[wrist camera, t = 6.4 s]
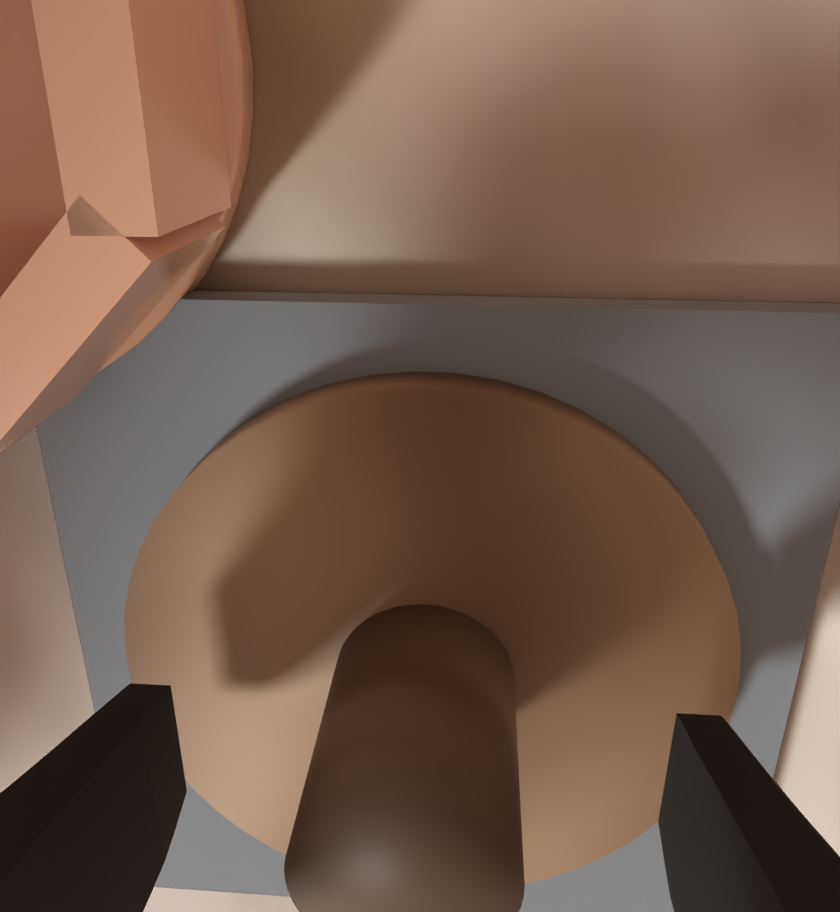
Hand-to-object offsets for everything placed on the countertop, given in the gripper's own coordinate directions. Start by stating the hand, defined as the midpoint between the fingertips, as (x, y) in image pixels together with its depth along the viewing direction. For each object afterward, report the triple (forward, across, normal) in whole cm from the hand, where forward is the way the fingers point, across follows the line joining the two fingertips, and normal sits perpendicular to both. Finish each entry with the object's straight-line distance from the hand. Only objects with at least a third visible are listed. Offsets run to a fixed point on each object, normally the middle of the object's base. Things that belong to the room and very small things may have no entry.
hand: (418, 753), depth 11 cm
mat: (+3, 0, 0) cm, 3 cm away
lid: (+2, 0, 0) cm, 2 cm away
